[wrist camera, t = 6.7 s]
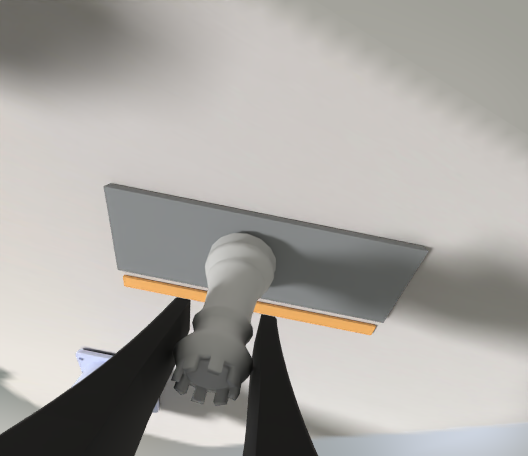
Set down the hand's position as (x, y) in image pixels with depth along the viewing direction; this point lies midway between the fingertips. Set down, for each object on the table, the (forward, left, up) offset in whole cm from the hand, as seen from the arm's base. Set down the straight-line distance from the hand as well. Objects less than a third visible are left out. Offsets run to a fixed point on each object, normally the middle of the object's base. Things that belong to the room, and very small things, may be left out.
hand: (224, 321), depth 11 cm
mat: (0, -1, -6) cm, 6 cm away
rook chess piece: (0, 0, -6) cm, 6 cm away
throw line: (-5, -1, -6) cm, 8 cm away
